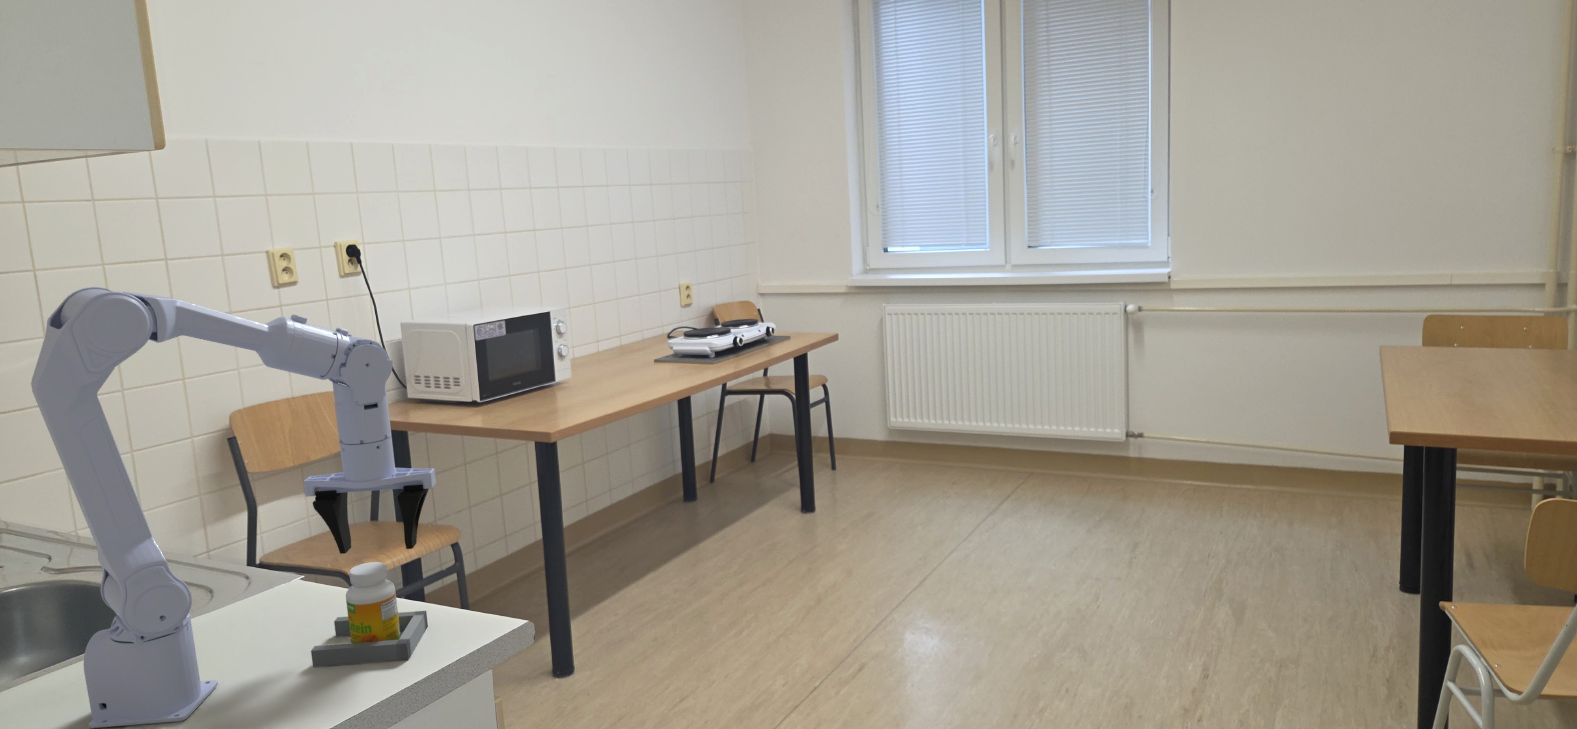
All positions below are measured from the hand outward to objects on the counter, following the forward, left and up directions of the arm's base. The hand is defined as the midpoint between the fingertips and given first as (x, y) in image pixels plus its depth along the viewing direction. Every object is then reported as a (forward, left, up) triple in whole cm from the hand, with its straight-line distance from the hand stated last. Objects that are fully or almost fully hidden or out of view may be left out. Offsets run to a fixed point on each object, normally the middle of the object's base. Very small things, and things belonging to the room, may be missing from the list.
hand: (378, 548), depth 123 cm
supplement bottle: (0, -4, -11) cm, 12 cm away
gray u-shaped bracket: (0, -4, -10) cm, 11 cm away
